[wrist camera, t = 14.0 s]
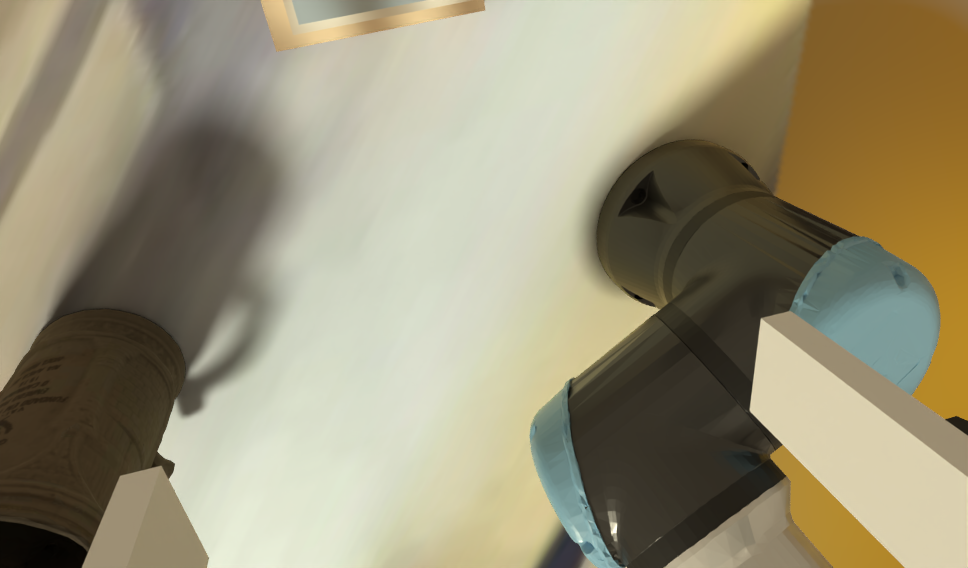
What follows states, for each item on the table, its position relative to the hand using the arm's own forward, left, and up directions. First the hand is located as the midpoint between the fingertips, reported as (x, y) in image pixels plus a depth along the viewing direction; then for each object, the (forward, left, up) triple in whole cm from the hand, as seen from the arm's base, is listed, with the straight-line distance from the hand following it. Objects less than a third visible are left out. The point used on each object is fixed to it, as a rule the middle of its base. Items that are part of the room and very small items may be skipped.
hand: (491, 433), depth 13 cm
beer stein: (+24, +17, -35) cm, 46 cm away
